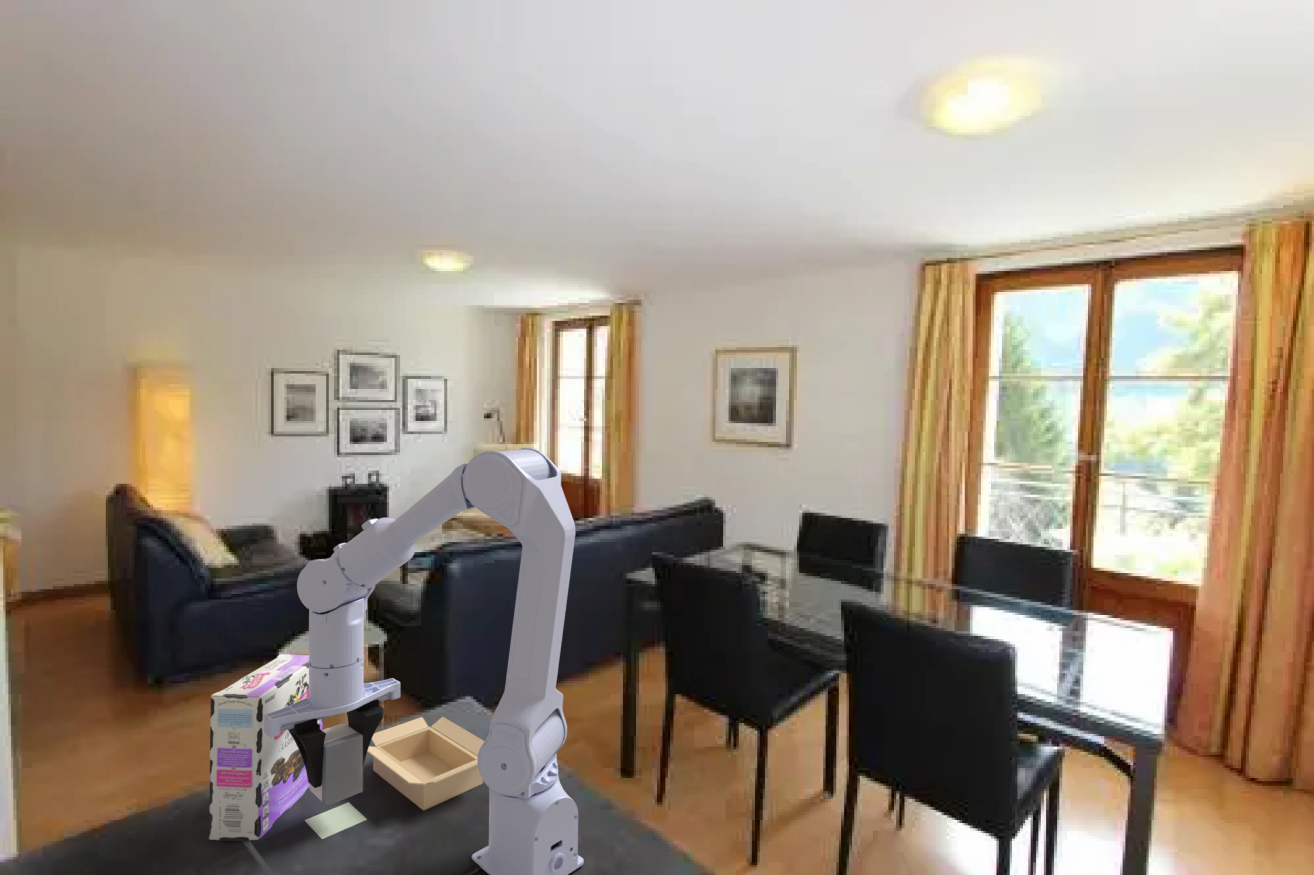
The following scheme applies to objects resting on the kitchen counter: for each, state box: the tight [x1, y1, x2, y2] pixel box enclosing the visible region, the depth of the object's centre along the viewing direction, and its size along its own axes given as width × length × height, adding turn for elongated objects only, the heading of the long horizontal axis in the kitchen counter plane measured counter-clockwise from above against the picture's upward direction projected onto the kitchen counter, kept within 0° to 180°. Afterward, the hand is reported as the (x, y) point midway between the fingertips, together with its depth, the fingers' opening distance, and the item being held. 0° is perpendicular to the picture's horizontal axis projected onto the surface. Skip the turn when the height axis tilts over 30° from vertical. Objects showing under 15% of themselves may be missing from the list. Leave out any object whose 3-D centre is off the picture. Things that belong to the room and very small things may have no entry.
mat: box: [304, 802, 368, 840], centre depth 77 cm, size 5×5×1 cm
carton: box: [367, 716, 485, 811], centre depth 86 cm, size 12×17×4 cm
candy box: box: [208, 653, 324, 842], centre depth 80 cm, size 14×6×16 cm, turn 179°
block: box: [308, 722, 364, 807], centre depth 77 cm, size 5×4×7 cm
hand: (335, 775), depth 77 cm, fingers closed on block, 4 cm apart
